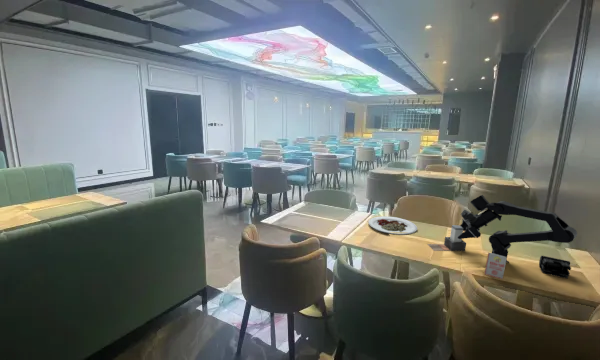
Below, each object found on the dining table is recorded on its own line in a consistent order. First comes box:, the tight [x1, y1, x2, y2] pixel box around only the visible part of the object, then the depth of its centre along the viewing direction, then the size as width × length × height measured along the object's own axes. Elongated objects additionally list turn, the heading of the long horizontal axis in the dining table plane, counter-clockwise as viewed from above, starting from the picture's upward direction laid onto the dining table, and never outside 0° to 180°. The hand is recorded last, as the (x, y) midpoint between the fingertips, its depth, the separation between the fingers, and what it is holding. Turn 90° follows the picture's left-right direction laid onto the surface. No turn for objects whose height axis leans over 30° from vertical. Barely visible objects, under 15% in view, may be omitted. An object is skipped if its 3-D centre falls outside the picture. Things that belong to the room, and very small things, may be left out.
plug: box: [449, 224, 464, 242], centre depth 151 cm, size 4×4×12 cm
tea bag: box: [484, 252, 508, 280], centre depth 127 cm, size 4×7×10 cm, turn 53°
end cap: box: [538, 255, 572, 280], centre depth 130 cm, size 10×7×7 cm
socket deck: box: [427, 236, 467, 252], centre depth 152 cm, size 8×17×6 cm, turn 90°
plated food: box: [368, 215, 418, 235], centre depth 182 cm, size 30×30×3 cm
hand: (456, 234), depth 150 cm, fingers open, 9 cm apart
